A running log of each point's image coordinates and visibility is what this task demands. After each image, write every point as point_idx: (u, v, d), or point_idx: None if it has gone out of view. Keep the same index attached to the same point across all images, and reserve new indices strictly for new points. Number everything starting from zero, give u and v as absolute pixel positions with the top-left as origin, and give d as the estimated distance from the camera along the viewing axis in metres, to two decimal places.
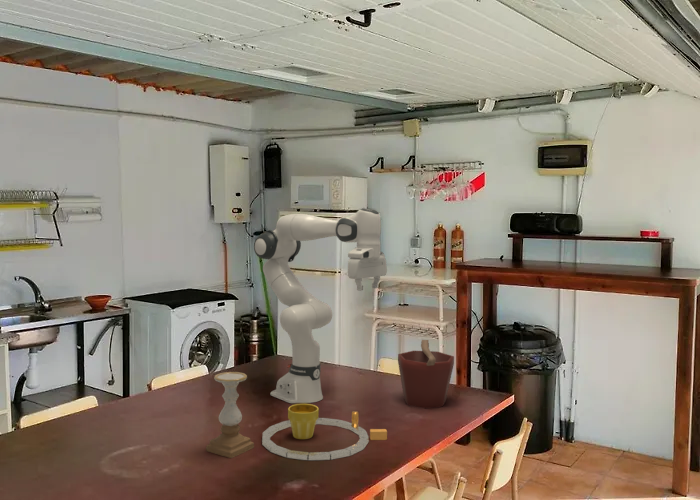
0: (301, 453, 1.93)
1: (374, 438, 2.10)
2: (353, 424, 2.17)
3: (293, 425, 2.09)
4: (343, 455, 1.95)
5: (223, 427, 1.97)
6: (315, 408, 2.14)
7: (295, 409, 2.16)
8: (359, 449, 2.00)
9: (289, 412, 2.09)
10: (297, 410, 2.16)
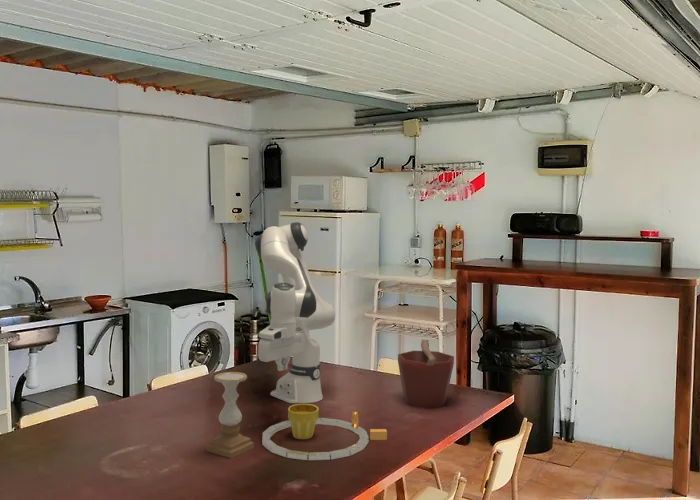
0: (301, 453, 1.93)
1: (374, 438, 2.10)
2: (353, 424, 2.17)
3: (293, 425, 2.09)
4: (343, 455, 1.95)
5: (223, 427, 1.97)
6: (315, 408, 2.14)
7: (295, 409, 2.16)
8: (359, 449, 2.00)
9: (289, 412, 2.09)
10: (297, 410, 2.16)
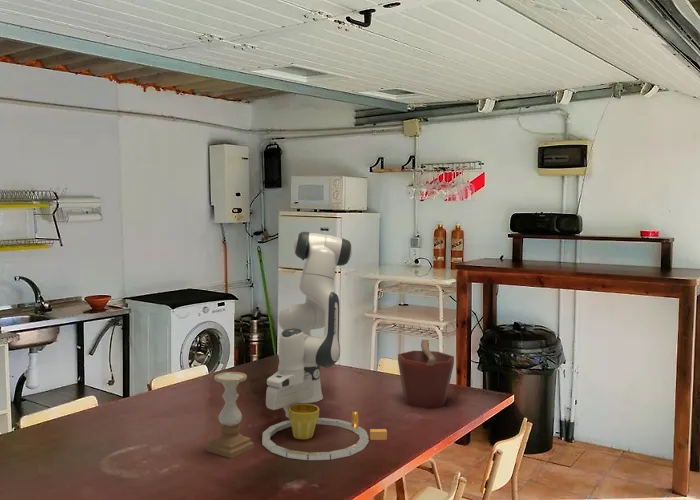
0: (301, 453, 1.93)
1: (374, 438, 2.10)
2: (353, 424, 2.17)
3: (293, 425, 2.09)
4: (343, 455, 1.95)
5: (223, 427, 1.97)
6: (316, 408, 2.14)
7: (296, 408, 2.15)
8: (359, 449, 2.00)
9: (290, 412, 2.09)
10: (297, 410, 2.16)
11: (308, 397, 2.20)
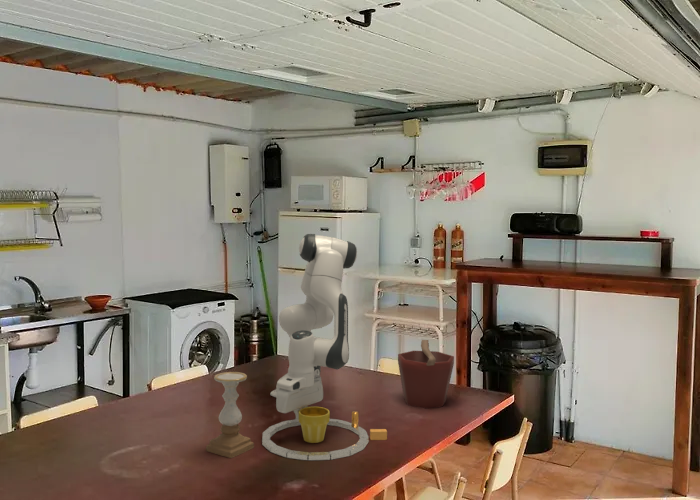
0: (301, 453, 1.93)
1: (374, 438, 2.10)
2: (353, 424, 2.17)
3: (304, 428, 2.06)
4: (343, 455, 1.95)
5: (223, 427, 1.97)
6: (326, 411, 2.11)
7: (306, 412, 2.13)
8: (359, 449, 2.00)
9: (299, 415, 2.06)
10: (308, 413, 2.13)
11: (318, 400, 2.17)
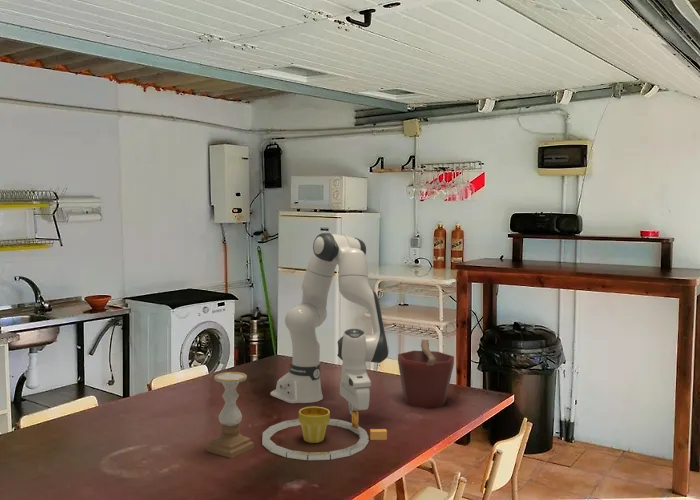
0: (301, 453, 1.93)
1: (374, 438, 2.10)
2: (353, 424, 2.17)
3: (304, 428, 2.06)
4: (343, 455, 1.95)
5: (223, 427, 1.97)
6: (326, 411, 2.11)
7: (306, 412, 2.13)
8: (359, 449, 1.99)
9: (300, 415, 2.07)
10: (308, 413, 2.13)
11: None
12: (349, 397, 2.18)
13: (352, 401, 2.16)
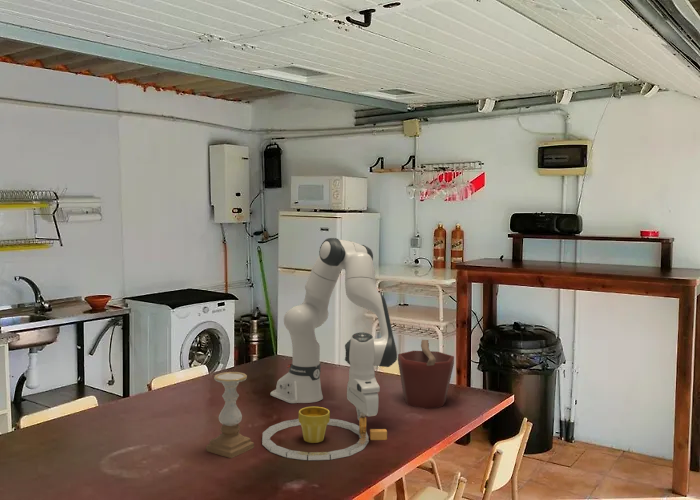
0: (282, 449, 1.96)
1: (374, 438, 2.10)
2: (360, 430, 2.12)
3: (304, 428, 2.06)
4: (322, 458, 1.92)
5: (223, 427, 1.97)
6: (326, 411, 2.11)
7: (306, 412, 2.13)
8: (343, 455, 1.95)
9: (299, 415, 2.06)
10: (308, 413, 2.13)
11: None
12: (357, 402, 2.13)
13: (360, 407, 2.10)
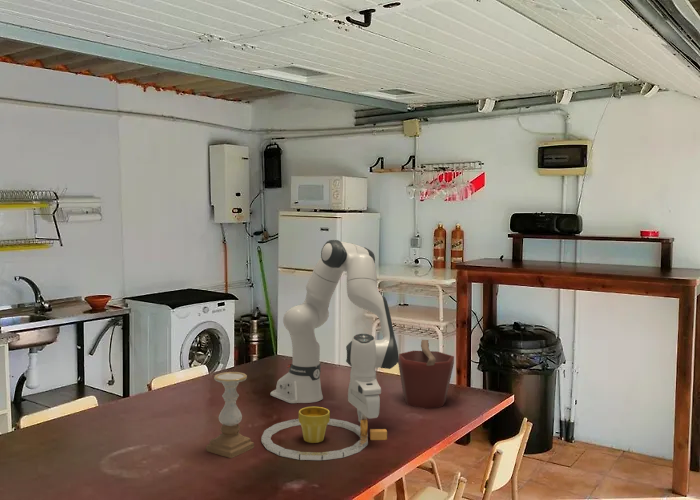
0: (277, 448, 1.97)
1: (374, 438, 2.10)
2: (361, 432, 2.10)
3: (304, 428, 2.06)
4: (314, 458, 1.92)
5: (223, 427, 1.97)
6: (326, 411, 2.11)
7: (306, 412, 2.13)
8: (336, 456, 1.93)
9: (299, 415, 2.07)
10: (308, 413, 2.13)
11: None
12: (359, 404, 2.10)
13: (361, 409, 2.08)
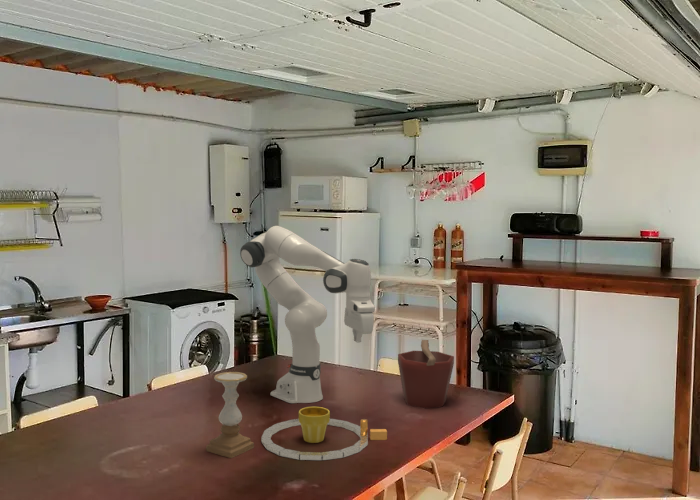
0: (277, 448, 1.97)
1: (374, 438, 2.10)
2: (361, 432, 2.10)
3: (304, 428, 2.06)
4: (314, 458, 1.92)
5: (223, 427, 1.97)
6: (326, 411, 2.11)
7: (306, 412, 2.13)
8: (336, 456, 1.93)
9: (299, 415, 2.07)
10: (308, 413, 2.13)
11: None
12: (354, 323, 2.26)
13: (356, 327, 2.24)
